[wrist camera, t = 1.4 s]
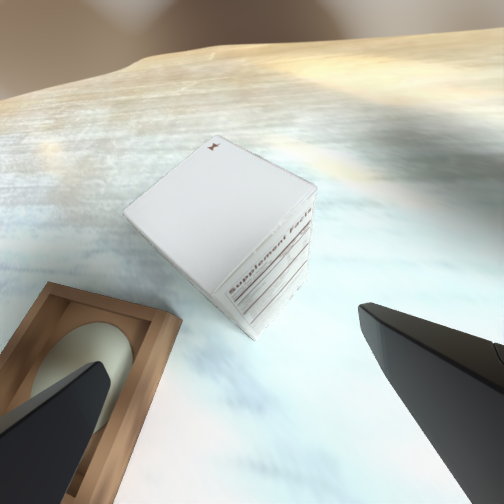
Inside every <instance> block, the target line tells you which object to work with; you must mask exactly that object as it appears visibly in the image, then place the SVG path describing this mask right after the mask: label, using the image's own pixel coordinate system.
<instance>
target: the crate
mask: <svg viewBox="0 0 504 504" xmlns="http://www.w3.org/2000/svg"><path fill="white" fill-rule="evenodd" d="M182 321H183V320H181V319H180V318H178V317H176V316H174V315H173V314H171V313H169V312H167V311H163V310H159V309H155V308H151V307H147V306H143V305H139V304H135V303H131V302H127V301H123V300H120V299H116V298H112V297H108V296H104V295H100V294H96V293H92V292H88V291H84V290H80V289H76V288H72V287H68V286H64V285H60V284H56V283H52V282H47V284H46V285H45V287H44V289H43V290H42V292H41V293H40V295H39V296H38V298H37V299H36V301H35V302H34V304H33V305H32V307H31V308H30V310H29V311H28V313H27V314H26V316H25V317H24V319H23V321H22V322H21V324H20V325H19V327H18V328H17V330H16V331H15V333H14V334H13V336H12V337H11V339H10V340H9V342H8V343H7V345H6V346H5V348H4V350H3V351H2V353H1V354H0V417H2V416H3V415H5V414H7V413H8V412H10V411H11V410H13V409H15V408H16V407H18V406H19V405H21V404H23V403H24V402H26V401H27V400H29V399H31V398H32V397H34V396H35V395H37V394H39V393H40V392H42V391H43V390H45V389H47V388H48V387H50V386H51V385H53V384H55V383H56V382H58V381H60V380H61V379H63V378H64V377H66V376H68V375H69V374H71V373H72V372H74V371H76V370H77V369H79V368H80V367H82V366H84V365H85V364H87V363H90V362H95V361H101V362H102V363H103V365H104V367H105V369H106V371H107V373H108V375H109V377H110V379H111V386H110V389H109V392H108V395H107V398H106V400H105V403H104V406H103V408H102V411H101V414H100V417H99V419H98V422H97V425H96V427H95V430H94V432H93V435H92V437H91V439H90V442H89V444H88V446H87V448H86V450H85V452H84V455H83V457H82V459H81V461H80V463H79V465H78V468H77V470H76V472H75V474H74V476H73V478H72V481H71V483H70V485H69V487H68V489H67V491H66V493H65V496H64V498H63V500H62V502H61V504H113V502H114V499H115V497H116V494H117V492H118V489H119V486H120V484H121V481H122V478H123V476H124V473H125V471H126V468H127V465H128V463H129V460H130V457H131V455H132V452H133V450H134V447H135V444H136V442H137V439H138V436H139V434H140V431H141V429H142V426H143V423H144V421H145V418H146V415H147V413H148V410H149V408H150V405H151V402H152V400H153V397H154V394H155V392H156V389H157V386H158V384H159V381H160V379H161V376H162V373H163V371H164V368H165V365H166V363H167V360H168V358H169V355H170V352H171V350H172V347H173V344H174V342H175V339H176V337H177V334H178V331H179V329H180V326H181V323H182Z"/></svg>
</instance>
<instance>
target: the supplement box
mask: <svg viewBox="0 0 504 504" xmlns="http://www.w3.org/2000/svg"><path fill="white" fill-rule="evenodd" d="M316 195H317V187H316V186H315V185H314V184H313V183H311V182H309V181H307V180H305V179H303V178H302V177H299V176H297V175H295V174H293V173H291V172H289V171H287V170H285V169H284V168H282V167H280V166H278V165H276V164H274V163H272V162H270V161H268V160H266V159H264V158H263V157H261V156H259V155H257V154H254V153H252V152H250V151H248V150H246V149H244V148H242V147H240V146H238V145H237V144H235V143H233V142H231V141H229V140H227V139H225V138H223V137H221V136H220V135H215V136H214V137H212V138H211V139H209V140H208V141H207V142H205V143H204V144H203V145H202V146H200V147H199V148H198V149H197V150H195V151H194V152H193V153H192V154H190V155H189V156H188V157H187V158H186V159H184V160H183V161H182V162H181V163H180V164H178V165H177V166H176V167H175V168H174V169H172V170H171V171H170V172H169V173H168V174H166V175H165V176H164V177H163V178H161V179H160V180H159V181H158V182H157V183H155V184H154V185H153V186H152V187H151V188H149V189H148V190H147V191H146V192H145V193H143V194H142V195H141V196H140V197H138V198H137V199H136V200H135V201H134V202H132V203H131V204H130V205H129V206H128V207H127V208H126V209H125V210H124V211H123V215H124V216H125V217H126V218H127V220H128V221H129V222H130V223H131V224H132V225H133V226H134V227H135V228H136V229H137V230H138V231H139V232H140V233H141V234H142V235H143V236H144V237H145V238H146V239H147V240H148V241H149V242H150V243H151V244H152V245H153V246H154V248H155V249H156V250H157V251H158V252H159V253H160V254H161V255H162V256H163V257H164V258H165V259H166V260H167V261H168V262H170V263H171V264H172V265H173V266H174V267H175V268H176V269H177V270H178V271H179V272H180V273H181V274H182V275H183V276H184V277H185V278H186V279H187V280H188V281H189V282H190V283H192V284H193V285H194V286H195V287H196V288H197V289H198V290H199V291H200V292H201V293H202V294H203V295H204V296H205V297H206V298H207V299H208V300H210V301H211V302H212V303H213V304H214V305H215V306H216V307H217V308H218V309H219V310H220V311H222V312H223V313H224V314H225V315H226V316H227V317H228V318H229V319H230V320H232V321H233V322H234V323H235V324H236V325H237V326H238V327H239V328H241V329H242V330H243V331H244V332H245V333H246V334H247V335H248V336H249V337H250V338H251V339H253V340H254V341H256V340H257V339H258V337H259V336H260V335H261V334H262V333H263V331H264V330H265V329H266V328H267V327H268V325H269V324H270V323H271V322H272V321H273V319H274V318H275V317H276V316H277V315H278V313H279V312H280V311H281V310H282V309H283V307H284V306H285V305H286V304H287V303H288V301H289V300H290V299H291V298H292V297H293V296H294V294H295V293H296V292H297V291H298V290H299V288H300V287H301V286H302V285H303V284H304V282H305V281H306V279H307V271H308V263H309V254H310V244H311V234H312V225H313V216H314V207H315V200H316Z"/></svg>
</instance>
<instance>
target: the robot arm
mask: <svg viewBox="0 0 504 504" xmlns="http://www.w3.org/2000/svg"><path fill="white" fill-rule="evenodd" d="M358 313H359V320H360V327H361V331H362V333H363V335H364V337H365V339H366V341H367V343H368V345H369V347H370V348H371V350H372V352H373V354H374V356H375V358H376V360H377V362H378V363H379V365H380V367H381V369H382V371H383V373H384V374H385V376H386V378H387V379H388V381H389V382H390V384H391V385H392V387H393V388H394V390H395V391H396V393H397V394H398V396H399V397H400V398H401V400H402V401H403V403H404V404H405V406H406V407H407V409H408V410H409V412H410V413H411V415H412V416H413V418H414V419H415V421H416V422H417V423H418V425H419V426H420V428H421V429H422V431H423V432H424V434H425V435H426V437H427V438H428V440H429V441H430V443H431V444H432V446H433V447H434V448H435V450H436V451H437V453H438V454H439V456H440V457H441V459H442V460H443V462H444V463H445V465H446V466H447V468H448V469H449V471H450V472H451V473H452V475H453V476H454V478H455V479H456V481H457V482H458V484H459V485H460V487H461V488H462V490H463V491H464V493H465V494H466V495H467V497H468V498H469V500H470V501H471V503H472V504H504V345H501V344H498V343H492V342H491V341H489V340H486V339H483V338H480V337H477V336H474V335H470V334H467V333H464V332H461V331H458V330H455V329H452V328H449V327H446V326H443V325H440V324H436V323H433V322H430V321H427V320H424V319H421V318H418V317H415V316H412V315H409V314H406V313H403V312H399V311H396V310H393V309H390V308H387V307H384V306H381V305H378V304H375V303H371V302H369V303H365V304H360V305H359V306H358ZM110 386H111V379H110V377H109V375H108V373H107V371H106V369H105V367H104V365H103V363H102V362H101V361H95V362H90V363H87V364H85V365H84V366H82V367H80V368H79V369H77V370H76V371H74V372H72V373H71V374H69V375H68V376H66V377H64V378H63V379H61V380H60V381H58V382H56V383H55V384H53V385H51V386H50V387H48V388H47V389H45V390H43V391H42V392H40V393H39V394H37V395H35V396H34V397H32V398H31V399H29V400H27V401H26V402H24V403H23V404H21V405H19V406H18V407H16V408H15V409H13V410H11V411H10V412H8V413H7V414H5V415H3V416H2V417H0V504H61V502H62V500H63V498H64V496H65V493H66V491H67V489H68V487H69V485H70V483H71V481H72V478H73V476H74V474H75V472H76V470H77V468H78V465H79V463H80V461H81V459H82V457H83V455H84V452H85V450H86V448H87V446H88V444H89V442H90V439H91V437H92V435H93V432H94V430H95V427H96V425H97V422H98V419H99V417H100V414H101V411H102V408H103V406H104V403H105V400H106V398H107V395H108V392H109V389H110Z"/></svg>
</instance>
